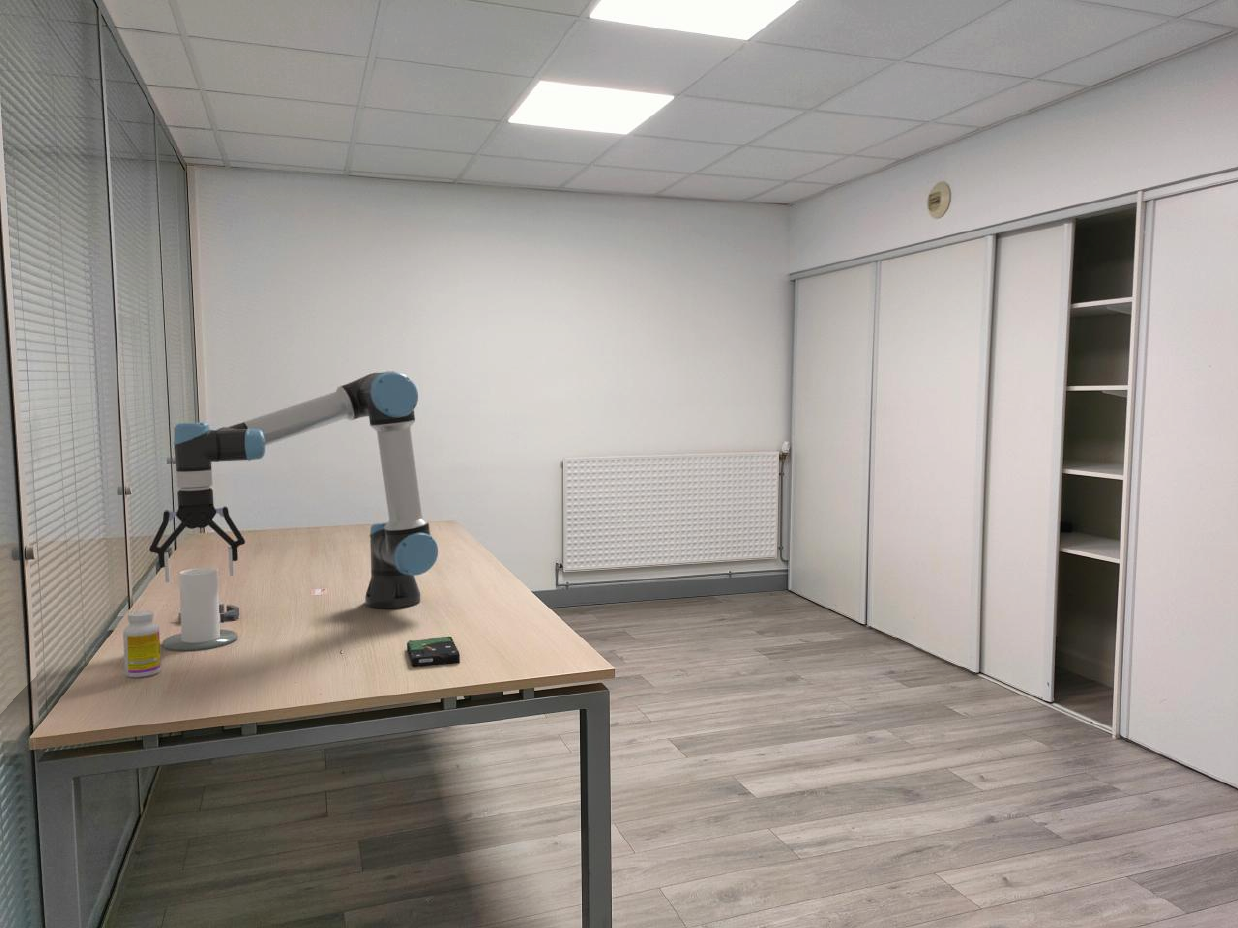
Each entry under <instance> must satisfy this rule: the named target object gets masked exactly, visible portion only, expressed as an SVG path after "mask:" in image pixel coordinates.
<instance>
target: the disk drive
mask: <svg viewBox="0 0 1238 928" xmlns="http://www.w3.org/2000/svg"><path fill="white" fill-rule="evenodd" d="M406 651H407V654H408V657H409V662H410V665H411V667H412V668H423V667H432V666H433V667H435V666H445V665H455V664H457V665H458V664H461V655H460V654H461V653H460V651H459V650H458V647H457V646H456V643H455V641H454V639H453V638H452V637H451V636H442V637H431V638H430V637H429V638H423V639H415V640H413V639H409V640H408V641H407V642H406Z"/></svg>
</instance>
